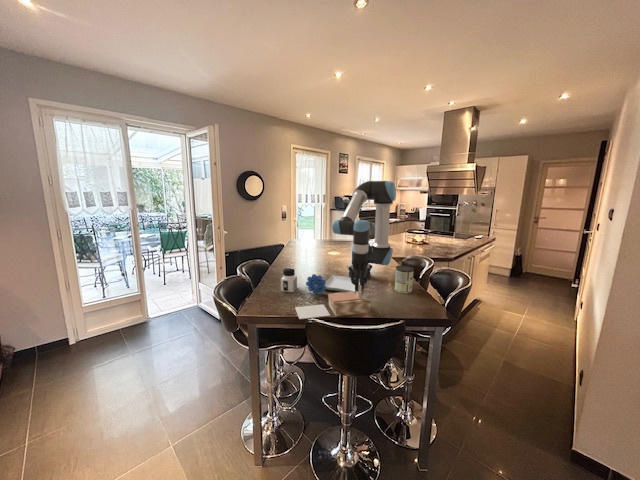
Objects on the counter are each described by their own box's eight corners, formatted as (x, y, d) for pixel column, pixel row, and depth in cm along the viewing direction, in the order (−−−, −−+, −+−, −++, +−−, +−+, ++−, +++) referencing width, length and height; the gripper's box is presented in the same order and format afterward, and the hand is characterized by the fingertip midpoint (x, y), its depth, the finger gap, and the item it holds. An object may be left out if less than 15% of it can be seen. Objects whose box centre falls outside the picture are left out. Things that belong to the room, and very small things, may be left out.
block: (353, 295, 137) (353, 291, 137) (360, 302, 129) (360, 298, 129) (328, 298, 134) (328, 294, 133) (333, 305, 125) (333, 301, 125)
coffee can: (395, 285, 165) (397, 264, 162) (412, 288, 161) (414, 266, 158) (392, 291, 156) (394, 268, 153) (411, 294, 152) (413, 271, 149)
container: (293, 292, 152) (293, 271, 150) (280, 291, 154) (280, 270, 151) (297, 287, 160) (297, 267, 157) (285, 286, 161) (284, 266, 159)
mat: (323, 305, 137) (323, 304, 137) (330, 315, 125) (330, 315, 125) (295, 308, 133) (295, 307, 133) (299, 319, 122) (299, 318, 122)
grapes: (306, 297, 146) (306, 277, 143) (305, 292, 152) (305, 273, 150) (327, 296, 148) (327, 276, 145) (325, 291, 154) (325, 272, 152)
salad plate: (355, 296, 149) (356, 290, 148) (320, 291, 156) (320, 285, 156) (363, 284, 169) (363, 278, 168) (331, 279, 176) (331, 274, 175)
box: (360, 302, 141) (361, 290, 140) (370, 312, 130) (371, 299, 128) (328, 305, 136) (328, 293, 135) (335, 316, 125) (336, 303, 124)
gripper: (369, 249, 134) (367, 292, 138) (345, 250, 130) (343, 295, 135) (376, 253, 126) (373, 298, 131) (350, 254, 123) (349, 301, 128)
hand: (358, 296), depth 133 cm, fingers closed
